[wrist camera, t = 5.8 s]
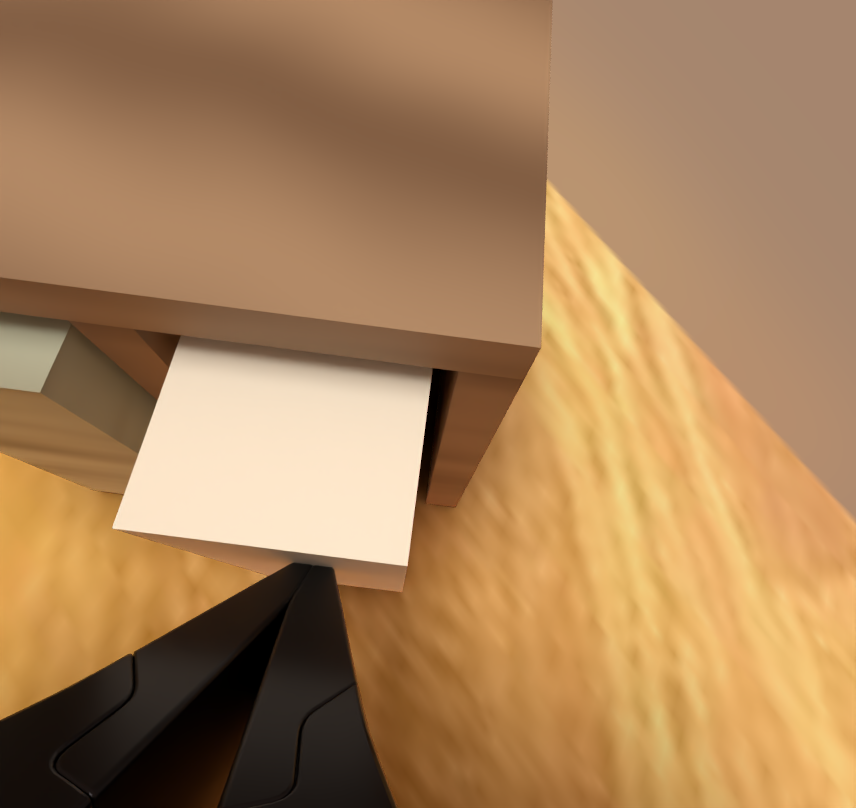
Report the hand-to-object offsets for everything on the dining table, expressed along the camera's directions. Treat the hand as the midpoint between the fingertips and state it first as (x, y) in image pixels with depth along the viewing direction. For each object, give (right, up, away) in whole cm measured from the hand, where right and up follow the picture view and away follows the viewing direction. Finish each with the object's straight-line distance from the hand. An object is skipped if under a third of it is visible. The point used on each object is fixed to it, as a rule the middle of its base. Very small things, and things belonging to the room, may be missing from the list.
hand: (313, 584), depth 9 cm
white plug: (0, +3, +8) cm, 9 cm away
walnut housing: (-3, +4, +9) cm, 10 cm away
